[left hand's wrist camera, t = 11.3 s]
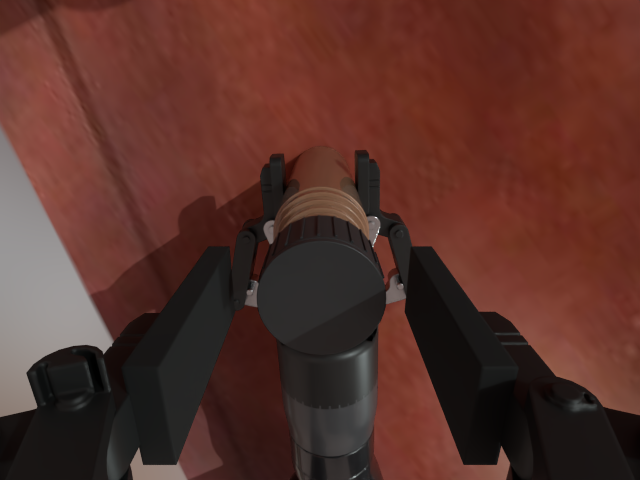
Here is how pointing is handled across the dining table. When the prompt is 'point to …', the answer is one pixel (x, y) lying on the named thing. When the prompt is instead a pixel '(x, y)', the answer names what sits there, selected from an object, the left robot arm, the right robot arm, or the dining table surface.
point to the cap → (321, 286)
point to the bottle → (321, 191)
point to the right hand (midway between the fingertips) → (318, 155)
